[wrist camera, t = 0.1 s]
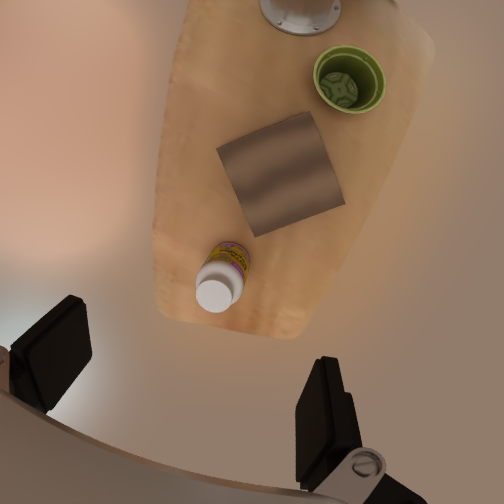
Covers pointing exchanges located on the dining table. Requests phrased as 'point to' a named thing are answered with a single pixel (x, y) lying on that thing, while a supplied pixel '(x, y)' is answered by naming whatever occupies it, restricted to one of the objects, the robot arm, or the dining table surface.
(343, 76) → the plant pot
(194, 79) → the dining table surface
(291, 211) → the brown wooden square slab
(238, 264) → the supplement bottle
